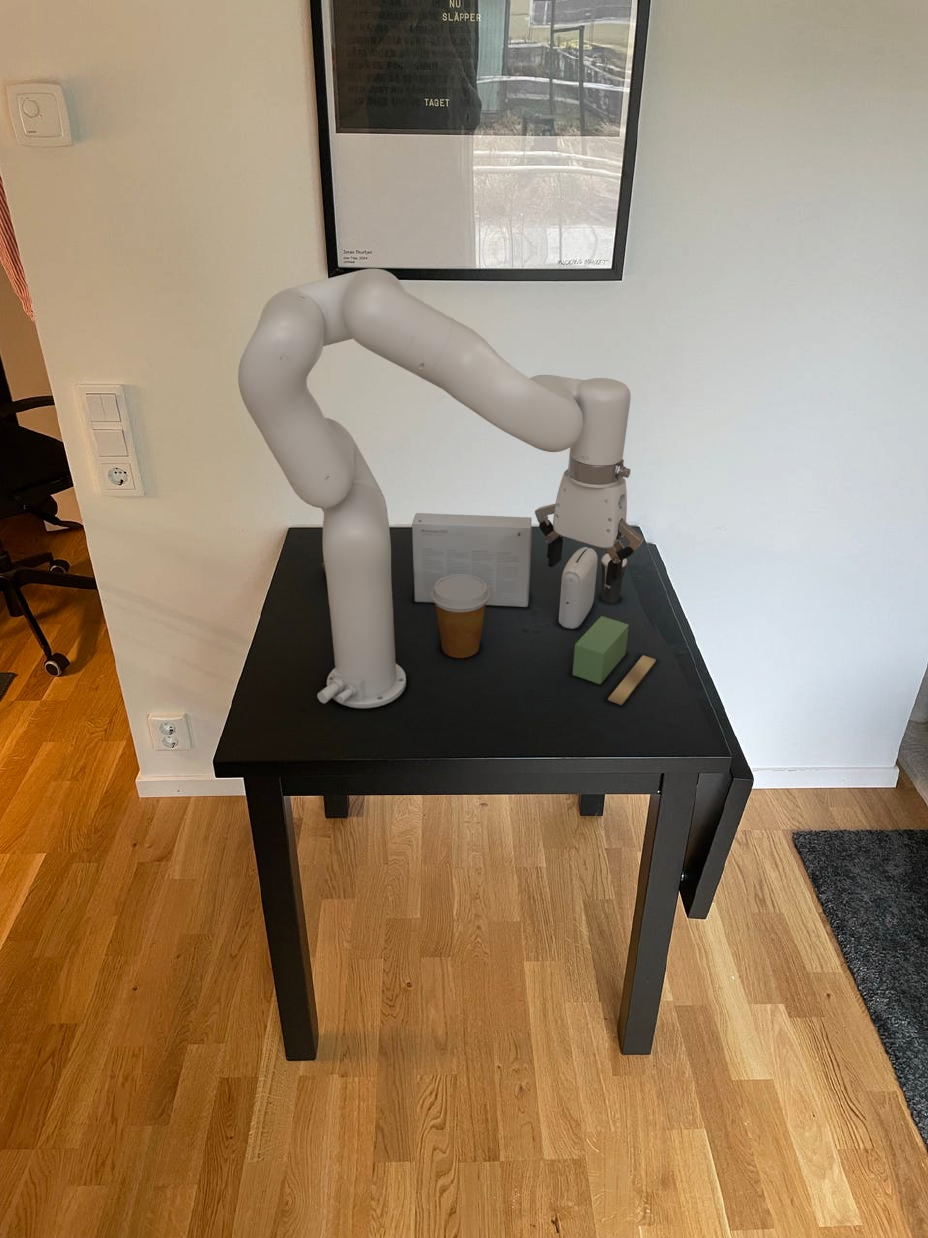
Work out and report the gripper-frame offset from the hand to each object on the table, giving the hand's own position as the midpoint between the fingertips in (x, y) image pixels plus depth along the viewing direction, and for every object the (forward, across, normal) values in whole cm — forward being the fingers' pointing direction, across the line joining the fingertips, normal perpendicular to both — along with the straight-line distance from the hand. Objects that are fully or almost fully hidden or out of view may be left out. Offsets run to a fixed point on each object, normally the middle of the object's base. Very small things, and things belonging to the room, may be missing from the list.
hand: (582, 572), depth 138 cm
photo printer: (+19, +7, -16) cm, 26 cm away
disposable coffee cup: (+19, +19, +4) cm, 27 cm away
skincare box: (+19, +26, -11) cm, 34 cm away
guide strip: (+18, -9, -3) cm, 21 cm away
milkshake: (+18, +4, -24) cm, 31 cm away
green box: (+18, -3, -4) cm, 19 cm away
